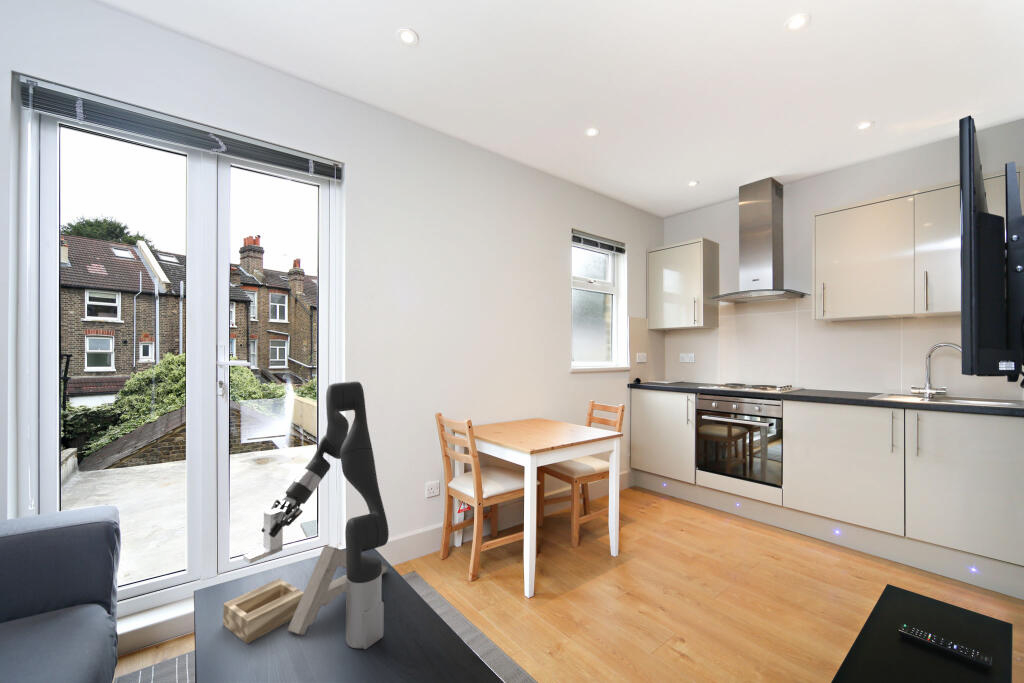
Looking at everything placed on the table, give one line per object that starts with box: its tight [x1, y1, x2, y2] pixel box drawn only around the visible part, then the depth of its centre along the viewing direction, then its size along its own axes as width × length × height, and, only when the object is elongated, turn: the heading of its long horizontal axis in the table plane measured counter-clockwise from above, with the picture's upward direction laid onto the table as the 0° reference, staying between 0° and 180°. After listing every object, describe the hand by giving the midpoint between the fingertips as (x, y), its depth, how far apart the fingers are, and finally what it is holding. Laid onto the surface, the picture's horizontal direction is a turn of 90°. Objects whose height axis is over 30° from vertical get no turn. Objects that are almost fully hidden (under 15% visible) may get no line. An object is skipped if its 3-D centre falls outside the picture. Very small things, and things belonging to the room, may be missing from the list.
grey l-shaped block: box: [242, 508, 284, 564], centre depth 134 cm, size 4×10×13 cm, turn 147°
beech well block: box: [222, 578, 304, 644], centre depth 124 cm, size 14×16×6 cm
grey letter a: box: [286, 544, 388, 635], centre depth 134 cm, size 22×4×30 cm
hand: (267, 534), depth 135 cm, fingers closed on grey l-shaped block, 4 cm apart
